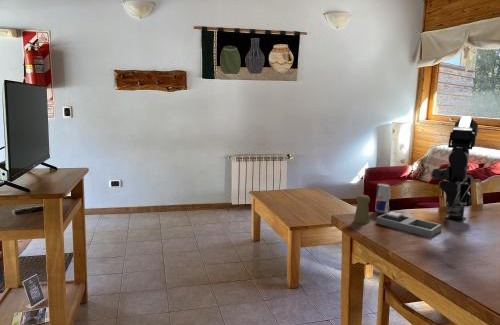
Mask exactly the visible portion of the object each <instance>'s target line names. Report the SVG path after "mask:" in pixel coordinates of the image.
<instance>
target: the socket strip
mask: <svg viewBox="0 0 500 325" xmlns="http://www.w3.org/2000/svg"><path fill="white" fill-rule="evenodd" d="M390 212H391V211H390ZM390 212H389V211H388V212H387V213H390ZM387 213H382V214H380V215H378V216H376V221H375V222H376V223H375V224H378V225H381V226H384V227H388V228H389V227H390V228H393V229H395V230H396V229H397V230H399V231H403V232H408V233H412V234H416V235H421V236H422V237H426V238H427V237H428V238H432V237H434V236H436V235H437V234H439V233H441V232H442V229H443V228H442V225H443V224H440V223H436V222H433V221H432V222H431V221H427V220H423V219H419V218H415V217H412V216H411V217H410V216H407V215H403V221H402V222H397V221H392V220H388V219H385V217H386V215H387Z"/></svg>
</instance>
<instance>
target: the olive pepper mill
mask: <svg viewBox="0 0 500 325" xmlns="http://www.w3.org/2000/svg"><path fill="white" fill-rule="evenodd" d="M355 199H356V203H357V205H356V209H355V214H354V219H353V222H355V223H357V224H362V225H364V224H365V225H368V224H369V223H370V213H369V210H370V209H369V204H370V201H371V199H370V196H369V195H366V194H358V195H357V196H356V198H355Z"/></svg>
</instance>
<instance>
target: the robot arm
mask: <svg viewBox="0 0 500 325" xmlns="http://www.w3.org/2000/svg"><path fill="white" fill-rule="evenodd" d="M474 119H475V118H474V117H472V116H459V119H458V120H457V121H456V122H455V123H454V127H453V128H452V130H450V132H449V133H450V134H449V140H448V144H447V148H452V149H451V152H450V154H449V156H448V163H449V164H448V165H447V166H446V168H442V169H440V168H434V169H432V172H431V177H433V180H434V181H437V180H439V179H440V180H441V179H442V180H441V181H439V183H438V184H439V185H438V188H439V189H440V190H442V191H443V192H444V193H445V195H446V196H445V204H446V203H447V202H448V206H449V207H452V206H453V204H454V202H455V200H456V198H457V196H458V194H459V192H460V195H461V196H460V199H459V202H460V204H462V205H463V207H462V209H461V210H460V211H458V212H459V213H460V214H461V216H452V215H448V214H446V215H445V217H444V219H448V220H450V221H456V222H462V221H465V220H466V219H467V217H466V216H464V215H465V207H466V208H469V207H471V203H472V202H471V201H472V195H471V194H470V191H469V189H470V188H471V186H472V184H474V177H473V176H472V174H471V175H470V174H467V173H468V170H469V169H470V166H469V165H468V163H469V155H470V154H469V153H470V150H473V148H474V147H475V146H476V137H478V129H479V123H477V122H476V121H475V120H474ZM460 187H461V188H460Z"/></svg>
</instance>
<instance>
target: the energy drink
mask: <svg viewBox="0 0 500 325" xmlns="http://www.w3.org/2000/svg"><path fill="white" fill-rule="evenodd" d="M376 185H377V186H376V194H375V206H374V207H375V209H374V210H375V212H377V213H380V214H385V213H387V212H389V204H390V202H389V201H390V191H391V187H390V186H391V185H390V184H387V183H377V184H376Z"/></svg>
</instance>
